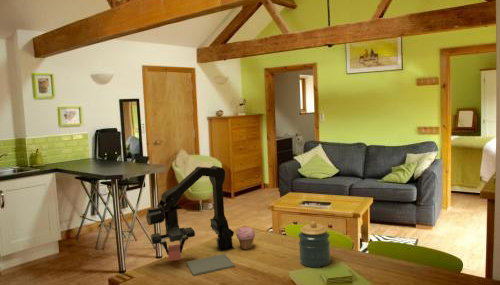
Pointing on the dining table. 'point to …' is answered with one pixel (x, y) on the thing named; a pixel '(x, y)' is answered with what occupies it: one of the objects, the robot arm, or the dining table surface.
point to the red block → (174, 252)
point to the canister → (314, 245)
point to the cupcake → (245, 237)
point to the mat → (209, 264)
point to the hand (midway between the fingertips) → (174, 253)
